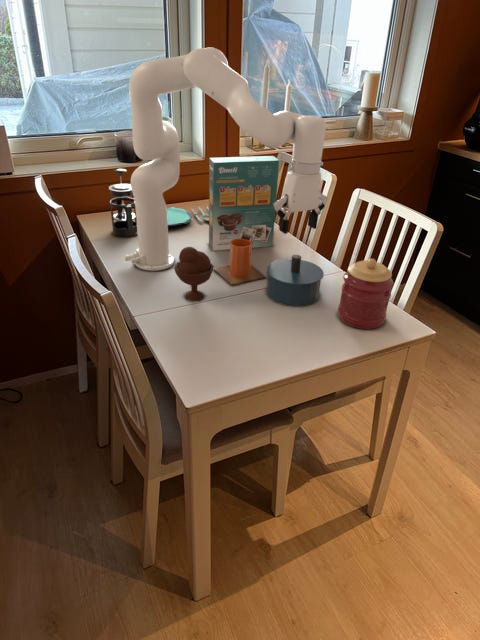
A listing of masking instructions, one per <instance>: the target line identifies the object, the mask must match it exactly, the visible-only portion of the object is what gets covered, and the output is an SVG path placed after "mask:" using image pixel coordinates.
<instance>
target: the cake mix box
mask: <svg viewBox="0 0 480 640" xmlns="http://www.w3.org/2000/svg"><path fill="white" fill-rule="evenodd" d="M208 159H209V163H208V164H209V167H208V168H209V169H208V170H209V172H208V173H209V174H208V175H209V177H208V178H209V179H208V181H209V183H208V186H209V187H208V202H209V203H208V208H209V211H208V216H209V221H208V245H209V247H210V249H211V250H212V251H213V252H215V251H227V250H230V242H231V241H232V240H234V239H246V240H249V241H251V242H252V249H254V248H265V247H273V246H274V234H275V233H274V232H275V220H276V212H275V209H274V206H273V204H274V203H275V202H276V201H277V196H278V181H279V169H280V160H279V159H278V158H277V157H276V156H274V155H258V156H257V155H256V156H255V155H253V156H230V157H229V156H228V157H227V156H226V157H220V156H219V157H209V158H208Z"/></svg>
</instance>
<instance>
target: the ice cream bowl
mask: <svg viewBox="0 0 480 640" xmlns="http://www.w3.org/2000/svg"><path fill="white" fill-rule="evenodd" d="M178 259H179V261H177V262H176V263H175V265H174V266H173V269H174V273H175V274H176V276H177V278H178V279H179V280H180V281H181V282H182V283H184V284H186V285H189V286H190V290H188V291H186V293H185V294H184V298H185V299H186V300H188V301H190V302H199V301H200V300H203V299H204V297H205V294H204V293H203V292H202V291H200V290H199V289H198V286H200V285H203V284H205V283H206V282H208V280H210V278H211V276H212V274H213V272H214V267H215V266H214V264H213V263H211V259H210V257H209V256H208V255H207V254H206V253H205V252H204V251H201V250H197V249H196V248H195V247H192V246H185V247H183V248H182V249H181V250H180V252H179V256H178Z"/></svg>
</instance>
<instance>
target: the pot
mask: <svg viewBox="0 0 480 640" xmlns="http://www.w3.org/2000/svg"><path fill="white" fill-rule="evenodd" d="M321 282H322V279H321V280H320V281H319V282H317V283H314V284H310V285H289V284H284V283H281V282H278V281H276V280H274V279H272V278H271V277H270V276H269V275H268V274H267V281H266V295H267V296H268V297H269V299H271V300H272V301H274V302H275V303H278V304H280V305H284V306H289V307H305V306H309V305H312V304H314V303H315V302H317V300H318V299H319V297H320V290H321V284H322V283H321Z"/></svg>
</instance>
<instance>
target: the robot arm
mask: <svg viewBox="0 0 480 640" xmlns="http://www.w3.org/2000/svg"><path fill="white" fill-rule="evenodd" d="M195 88H197V89H199V90H200V91H202V92H203V93H204V94H206V95H207V96H209V97H210V98H212V99H213V100H214V101H215V102H217V103H218V104H219V105H221V106H222V107H223V108H225V109H226V110H227V111H228V113H229V115H230V117H231V118H232V119H233V120H234V121H235V123H236V124H237V125H238V127H239V128H240V129H241V130H243V132H245V133H246V134H247V135H248V136H250V137H251V138H253V139H254V140H256V141H257V142H258V143H260V144H261V145H263V146H265V147H267V148H273V149H275V148H276V149H277V148H279V147H281V146H283V145H285V144H287V143H290V142H293V145H292V155H291V165H290V171H287V174H286V176H285V178H284V179H285V180H284V183H283V187H282V193H281V197H280V198H279V199H278V200H276V202H275V203H274V204H273V206H274V209H275V214H276V215H277V216H278V217H279V223H278V224H279V225H278V229H279V231H280V232H281V233H283V234H284V235H287V234H288V233H289V227H290V226H289V225H290V220H289V217H290V216H291V215H292V213H299V212H307V211H309V213H308V220H307V226H308V227H310V228H312V229H313V230H317V226H318V220H319V215H321V213H322V210H324V209H325V207H326V206H325V205H326V204H327V202H328V200H329V197H328V196H326V195H324V194H323V193H322V173H321V168H322V167H323V166H324V162H323V161H322V160H323V159H322V158H323V153H324V152H323V151H324V143H325V138H326V137H325V136H326V129H327V128H326V127H327V121H326V119H324V117H322V116H317V115H307V114H306V115H304V114H301V113H300V114H299V113H296V112H293V111H290V110H281V111H278V112H275V113H272V112H271V111H269V110H268V109H267V108H266V107H264V106H263V105H261V104H260V103H259V102H258V101H257V100H256V99H255V98H254V97H253V96H252V94H251V92H250V87H249V82H248V80H247V79H246V78H245V77H243V76H242V75H241V74H239V73H238V72H236V71H235V70H234V69H232V68H231V67H230V66H229V63H228V59H227V57H226V55H225V54H224V53H223V52H222V51H221V50H220V49H218V48H215V47H201V48H196V49H193V50H191V51H189V52H188V53H187V54H184V55H178V56H173V57H172V56H171V57H165V58H163V57H162V58H155V59H149V60H147V61H144V62H143V63H141V64H139V65H138V66H137V67H135V69H134V70H133V72H132V73H131V75H130V78H129V82H128V92H129V101H130V109H131V130H132V131H131V133H132V144H133V150H134V151H133V152H134V153H135V155H136V156H137V157H138V158H139V159H140V160H143V161H148V162H147V163H144V164H142V165H140V166H138V167H137V168H135V170H134V171H133V172H132V174H131V177H130V185H131V189H132V192H133V195H132V196H133V199H134V201H135V208H136V219H137V232H138V234H137V243H138V244H137V246H138V248H136V249H135V252H133V253H131V254H124V255H123V259H124V261H125V262H129V261H130V263H131V264H134V265H135V267H137V268H138V269H140V270H144V271H149V272H150V271H151V272H154V271H155V272H156V271H157V272H158V271H163V270H166V269H169V268H171V267H172V266H173V265H174V264H175V258H174V256H173V255H171V254H170V248H169V246H170V245H169V226H168V218H167V208H168V207H167V203H166V200H165V198H164V193H165V192H166V191H169V190H170V189H172V188H173V187H175V186H176V185H177V183H178V181H179V178H180V173H181V172H180V171H181V169H180V166H181V165H180V159H181V157H180V155H181V154H180V137H179V134H178V131H177V129H176V128H175V126H174V125H173V124H171V122H169V121H167V120H163V108H162V107H163V105H162V104H161V100H160V96H163V95H166V94H173V93H176V92H181V91H185V90H190V89H195Z"/></svg>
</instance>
